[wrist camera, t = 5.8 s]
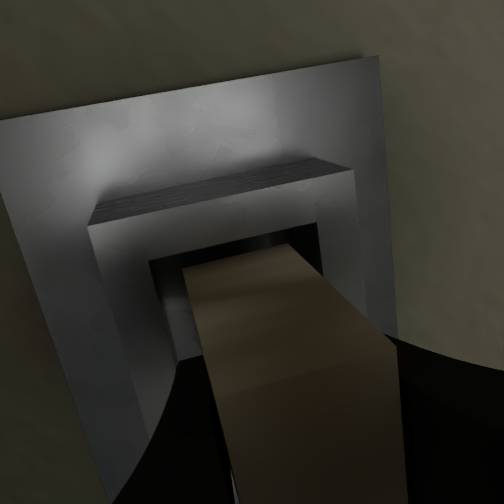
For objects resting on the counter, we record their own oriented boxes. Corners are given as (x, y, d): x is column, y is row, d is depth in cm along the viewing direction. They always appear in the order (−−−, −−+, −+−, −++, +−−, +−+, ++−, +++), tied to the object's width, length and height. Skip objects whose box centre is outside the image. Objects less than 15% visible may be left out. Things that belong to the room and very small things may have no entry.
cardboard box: (214, 404, 14) (262, 600, 9) (182, 268, 13) (215, 398, 7) (308, 377, 15) (411, 546, 9) (287, 243, 13) (396, 346, 8)
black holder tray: (148, 591, 20) (150, 700, 17) (-13, 122, 14) (-68, 130, 10) (399, 505, 22) (451, 585, 19) (364, 58, 16) (434, 43, 12)
